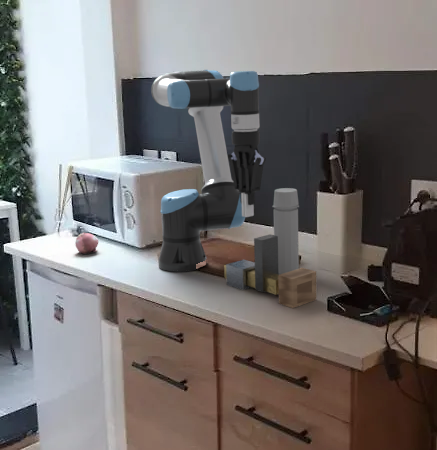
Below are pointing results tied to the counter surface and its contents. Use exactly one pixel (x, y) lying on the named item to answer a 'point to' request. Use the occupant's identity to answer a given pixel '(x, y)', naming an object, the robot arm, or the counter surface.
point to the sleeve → (238, 273)
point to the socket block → (297, 287)
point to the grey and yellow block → (264, 265)
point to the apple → (86, 243)
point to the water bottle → (286, 228)
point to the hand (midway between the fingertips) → (247, 215)
